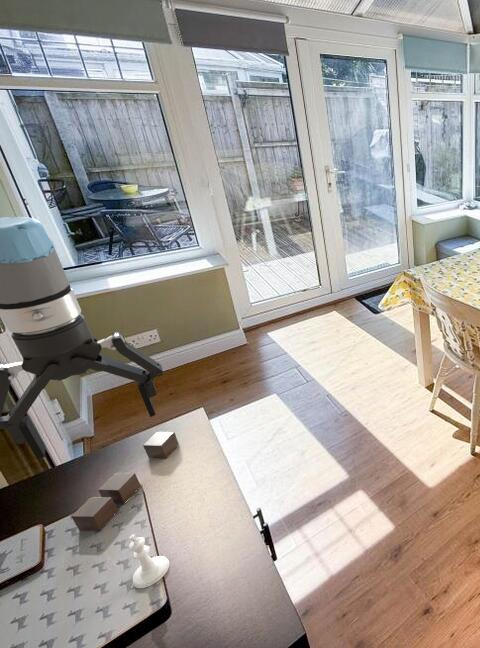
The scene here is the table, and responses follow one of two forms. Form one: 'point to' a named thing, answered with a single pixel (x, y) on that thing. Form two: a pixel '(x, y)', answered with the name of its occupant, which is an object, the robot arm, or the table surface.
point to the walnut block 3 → (161, 445)
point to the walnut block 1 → (94, 513)
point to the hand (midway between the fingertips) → (100, 431)
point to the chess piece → (147, 564)
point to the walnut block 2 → (120, 487)
